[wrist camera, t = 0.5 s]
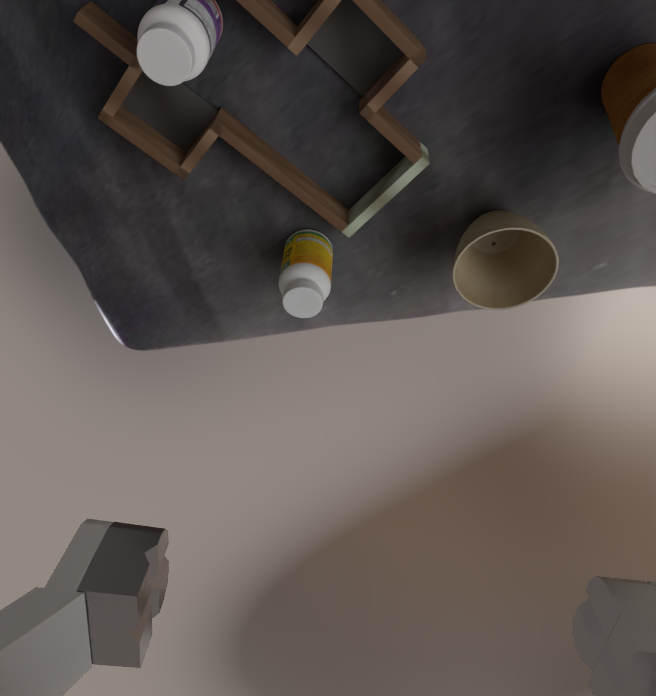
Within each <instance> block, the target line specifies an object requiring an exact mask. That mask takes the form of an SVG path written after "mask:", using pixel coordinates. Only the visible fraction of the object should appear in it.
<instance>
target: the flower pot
mask: <svg viewBox="0 0 656 696" xmlns="http://www.w3.org/2000/svg"><path fill="white" fill-rule="evenodd" d="M494 242H495V245H494V244H493V243H494ZM558 264H559V260H558V254H557V251H556V249H555V247H554V245H553V243H552V242H551V240H550V239H549V238H548V236H547V235H546V234H545V233H544V232H543V231H542V230H541V229H540V228H539V227H538V226H537V225H536V224H535V223H533V222H532V221H530V220H529V219H527V218H525V217H524V216H521V215H519V214H517V213H514V212H510V211H504V210H495V211H490V212H487V213H485V214H483V215H481V216H480V217H478V218H477V219H476V220H474V221H473V222H472V223H471V225H470V226H469V227H468V228H467V230H466V231H465V232H464V234H463V236H462V238H461V239H460V242H459V244H458V246H457V249H456V253H455V257H454V262H453V272H452V277H453V283H454V286H455V289H456V290H457V292H458V293H459V295H460V296H461V297H462V298H463V299H464V300H465V301H467V302H468V303H470V304H472V305H474V306H476V307H479V308H483V309H489V310H505V309H510V308H515V307H518V306H521V305H524V304H526V303H528V302H530V301H532V300H534V299H535V298H537V297H538V296H540V295H541V294H542V293H543V292H544V291H545V290H546V289H547V288H548V287H549V286H550V284H551V283H552V281H553V280H554V278H555V276H556V273H557V270H558Z"/></svg>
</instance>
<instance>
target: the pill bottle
mask: <svg viewBox="0 0 656 696" xmlns="http://www.w3.org/2000/svg"><path fill="white" fill-rule="evenodd" d="M222 29H223V19H222V14H221V10H220V8H219V6H218V4H217V2H216V0H157V1H156V2H155V4H154V5H153V6H152V7H151V8H150V9H149V10H148V11H147V13H146V14H145V15H144V17H143V18H142V20H141V22H140V24H139V28H138V35H137V38H138V44H137V58H138V62H139V64H140V67H141V68H142V70H143V71H144V73H145V74H146V75H147V76H148V77H149V78H150V79H152V80H153V81H155V82H156V83H159V84H161V85H165V86H175V85H178V84H180V83H182V82H184V81H188V80H191V79H193V78H195V77H196V76H198V75H199V74H200V73H201V72H202V71H203V69H204V68H205V66H206V64H207V63H208V60H209V59H210V57H211V55H212V53H213V51H214V49H215V47H216V45H217V43H218V42H219V39H220V37H221V34H222Z"/></svg>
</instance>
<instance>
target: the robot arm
mask: <svg viewBox="0 0 656 696" xmlns="http://www.w3.org/2000/svg"><path fill="white" fill-rule="evenodd" d="M167 546H168V531H167V530H166V529H163V528H156V527H148V526H141V525H133V524H126V523H119V522H107V521H100V520H93V519H87V520H86V521H84V522H83V523H82V524H81V525H80V527H79V529H78V530H77V532H76V534H75V536H74V537H73V539H72V541H71V543H70V544H69V546H68V548H67V549H66V551H65V553H64V555H63V557H62V558H61V560H60V562H59V564H58V565H57V567H56V569H55V570H54V572H53V574H52V576H51V577H50V579H49V581H48V583H47V584H46V586H45V588H37V587H36V588H34V589H33V590H31V591H30V592H28V593H27V594H25V595H24V596H22V597H21V598H19V599H17V600H16V601H14V602H13V603H11V604H10V605H8V606H7V607H5V608H4V609H2V610H1V611H0V696H63V695H64V694H65V693H66V692H67V691H68V690H69V689H70V688H71V687H72V686H73V685H74V684H75V683H76V682H77V681H78V680H79V679H80V678H81V677H82V676H83V675H84V674H85V673H86V672H88V670H89V669H91V668H92V664H97V665H110V666H123V667H137V668H141V665H142V662H143V659H144V656H145V653H146V650H147V647H148V645H149V642H150V639H151V636H152V618H154V617H155V616H156V615H157V614H158V613H159V612H160V609H161V606H162V603H163V600H164V596H165V592H166V587H167V582H168V572H169V561H168V560H167V558H166V557H165V556H164V555H165V552H166V549H167ZM586 592H587V595H588V597H589V599H588V600H587V601H585V602H584V603H582V604H580V605H579V606H578V608H577V610H576V613H575V615H574V618H573V638H574V643H575V647H576V650H577V653H578V655H579V658H580V659H581V660H582V661H583V662H584V663H585V664H586V665H587V666H588V667H589V668H590V669H591V670H592V672H591V674H590V677H589V680H588V682H589V685H590V687H591V690H592V693H593V695H594V696H656V582H649V581H648V582H645V581H640V580H630V579H619V578H610V577H600V576H595V577H594V578H592V579H591V580H590V581H589V583H588V585H587V587H586Z"/></svg>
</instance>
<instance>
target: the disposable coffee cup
mask: <svg viewBox="0 0 656 696" xmlns="http://www.w3.org/2000/svg"><path fill="white" fill-rule="evenodd" d="M601 96H602V102H603V104H604V106H605V109H606V112H607V115H608V117H609V120H610V123H611V126H612V128H613V131H614V134H615V137H616V140H617V142H618V145H619V161H620V165H621V168H622V171H623V173H624V174H625V176H626V177H627V179H628V180H629V181H630V182H632V183H633V184H634V185H635V186H636V187H638V188H641V189H643V190H645V191H648V192H653V193H655V194H656V43H651V44H643V45H640V46H637V47H635V48H632V49H630V50H629V51H627V52H626V53H624V54H623V55H621V56H620V57H619V58H618V59H617V60H616V61H615V62H614V63H613V64H612V66H611V67H610V68H609V70H608V71H607V73H606V75H605V77H604V80H603V83H602V88H601Z"/></svg>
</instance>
